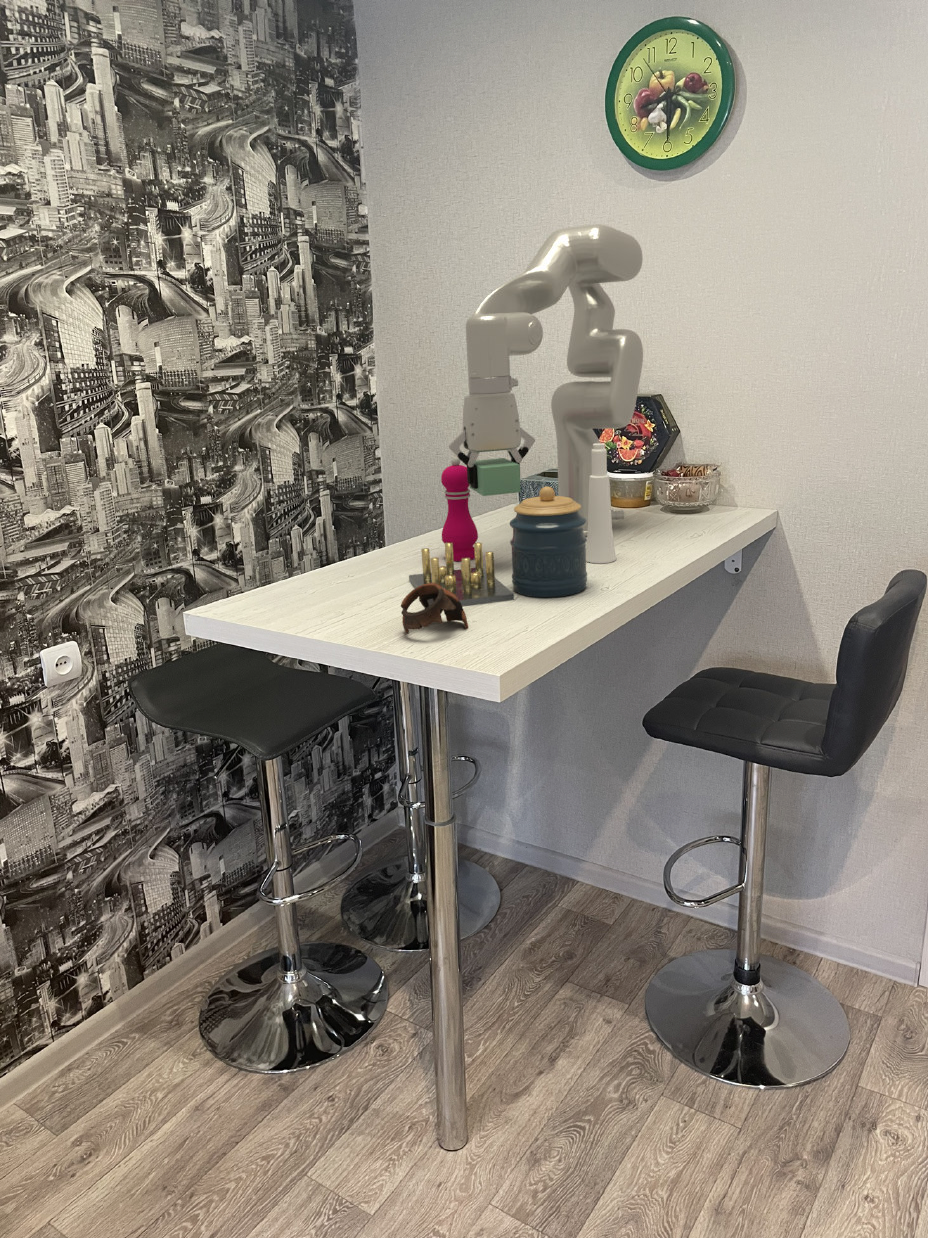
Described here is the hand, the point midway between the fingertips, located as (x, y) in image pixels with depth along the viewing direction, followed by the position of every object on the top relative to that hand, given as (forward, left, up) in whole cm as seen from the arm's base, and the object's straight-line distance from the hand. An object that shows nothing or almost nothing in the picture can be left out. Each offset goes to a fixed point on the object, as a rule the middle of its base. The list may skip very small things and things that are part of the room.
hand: (494, 485), depth 173 cm
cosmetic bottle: (-19, +4, -16) cm, 25 cm away
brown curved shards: (+19, +32, -16) cm, 41 cm away
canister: (-4, +18, -16) cm, 25 cm away
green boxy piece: (0, 0, -1) cm, 1 cm away
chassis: (+11, +13, -16) cm, 23 cm away
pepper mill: (+5, -10, -16) cm, 20 cm away
